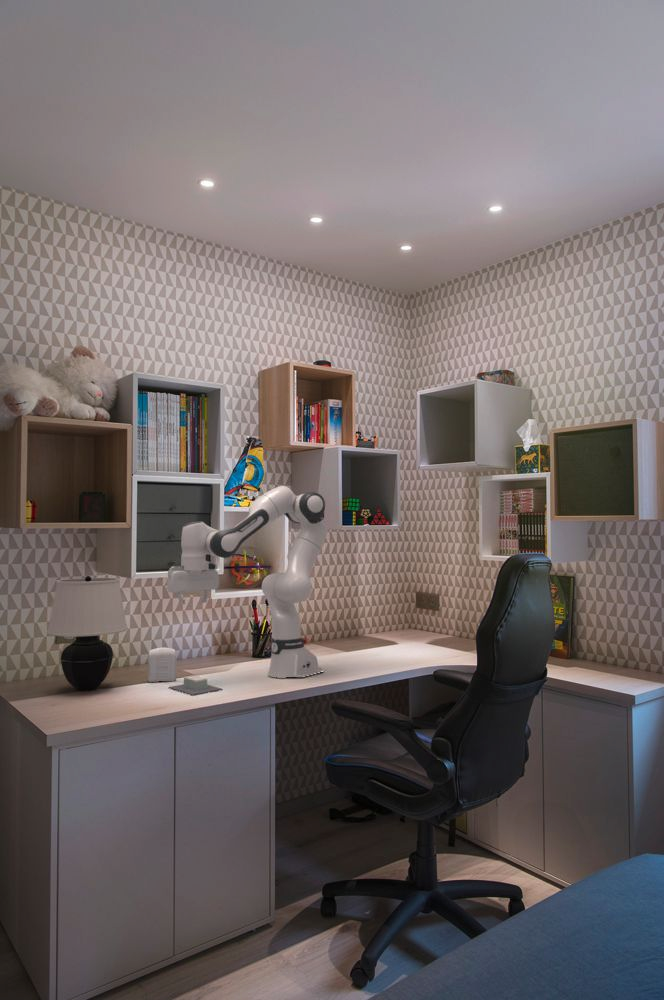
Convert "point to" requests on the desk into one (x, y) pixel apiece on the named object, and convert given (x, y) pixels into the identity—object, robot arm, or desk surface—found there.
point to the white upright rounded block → (161, 665)
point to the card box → (195, 682)
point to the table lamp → (87, 627)
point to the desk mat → (194, 692)
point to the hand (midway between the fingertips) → (193, 603)
